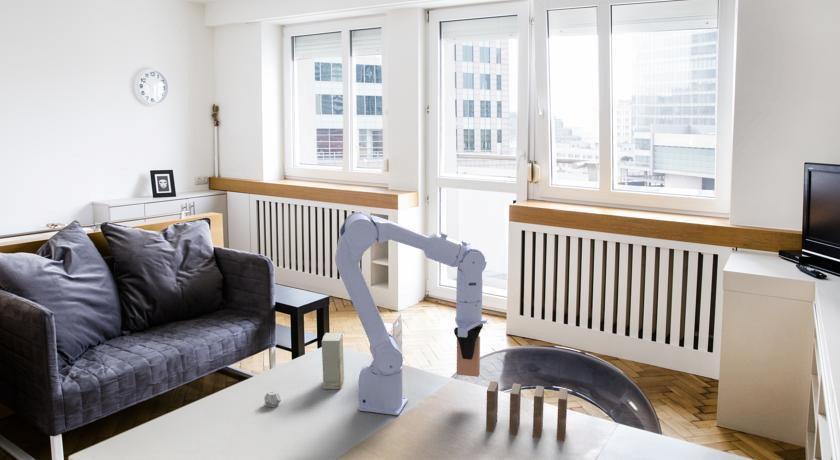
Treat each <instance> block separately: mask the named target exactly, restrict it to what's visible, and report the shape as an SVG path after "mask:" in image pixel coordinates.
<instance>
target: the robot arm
mask: <svg viewBox="0 0 840 460" xmlns="http://www.w3.org/2000/svg"><path fill="white" fill-rule="evenodd" d="M376 241H377V244H382V243H385V242H387V241H394V242H397V243H400V244H403V245H405V246H409V247H412V248H415V249H419V250H422V251H423V253H424V255H425V257H426V258H427V259H430V260H432V261H435V262H438V263H440V264H442V265H446V266H449V267H452V268H456V269H457V272H456V275H457V276H456V295H455V296H456V301H455V303H456V305H455V308H456V309H455V311H456V313H455V324H456V327H455V328H454V330H453V331H454V332H453V333H454V335H455V338H456V340H457V339H458V342H459V345H460V349H461V354H462V358H463V359H469V360H472V357H473V354H474V348H475V343H476V339H477V337H478V336H480V334H481V330H482V329H483V327H484V325H485V324H487V322H488V319H487V318H486V317H482V316H483V271H485V269H486V266H487V261H486V256H485V255H484V254H483V253H482V251H481V250H479V249H478V248H477V247H476V246H474V245H472V244H471V243H468V242H467V241H465V240H461V241H459V240H455V239H453V238H450V237H449V234H447V233H445V232H441V233H440V234H439V233H437V232H435V233H433V234H429V235H426V234H423V233H420V232H419V231H415V230H413V229H412V228H411V229H410V228H408V227H406V226H404V225H402V224H398V223H396V222H393V221H392V220H389V219H387V218H382V217H379V216H376V215H372V214H371V215H370V216H369V215H368V214H366V213H364V212H362V211H357V212H352V213H350V214H349V215H348V216H347V217H346V218H345V219H344V222H342V225H341V227H340V228H339V235H338V241H337V246H336V251H335V256H334V257H335V258H334V263H335V266H336V268H337V271H338V273H339V275H340V278H341V280H342V283H343V286H344V287H345V289H346V291H347V293H348V296H349V299H350V300H351V303H352V304H353V307H354V310H355V312H356V314H357V316H358V318H359V321H360V323H361V326H362V328H363V330H364V332H365V335H366V337H367V339H368V342H369V351H370V353H371V356H372V362H371V364H370V365H364V366H363V367H362V368H361V370H360V372H359V374H358V375H359V376H358V407H357V411H360V412H368V413H376V414H377V413H378V414H386V415H393V416H399V415H400V414H401V412H402V411H403V409H404V407H405V406H406V404H407V402H408V401H409V399H408V397H403V363H404V358H403V357H404V356H403V353H402V354H401V352H400V351H399V348H398V346H397V341H396V339H395V338H394V337H393V336H392V335H390V334H389V333H388V331H387V329H386V327H385V325H384V323H385V322H384V320H383V318H382V315H381V313H380V310H379V309H378V306H377V304H376V301H375V299H374V296H373V294H372V293H371V290H370V287H369V286H368V283H367V281H366V278H365V276H364V274H363V272H362V269H361V267H360V265H359V263H360V262H361V260H362V258H363V256H364V254H365V252H366V251H367V250H368V249H369V248H370V247H372V245H374V243H376Z"/></svg>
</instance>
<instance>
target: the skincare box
mask: <svg viewBox="0 0 840 460" xmlns="http://www.w3.org/2000/svg"><path fill="white" fill-rule="evenodd" d="M343 342H344V340H343V332H325V333H324V335H323V336H322V340H321V358H322V361H321V362H322V377H323V378H322V381H323V383H322V384H323V389H324V390H341V389H342V388H343V384H344V382H345V381H344V380H345V363H344V361H345V359H344V343H343Z"/></svg>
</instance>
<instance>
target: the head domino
mask: <svg viewBox="0 0 840 460" xmlns="http://www.w3.org/2000/svg"><path fill="white" fill-rule="evenodd" d="M480 360H481V336H480V335H479V336H478V337H477V339H476V343H475V348H474V354H473V357H472V360H469V359H463V358H462V354H461V349H460V345H459V342H458V339H457V338H456V375H457V376H467V377H477V378H479V377H480V371H481V370H480V369H481V365H480V363H481V361H480Z"/></svg>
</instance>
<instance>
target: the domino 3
mask: <svg viewBox="0 0 840 460" xmlns="http://www.w3.org/2000/svg"><path fill="white" fill-rule="evenodd" d="M544 397H545V386H543V385H542V386H541V385H536V387H535V391H534V395H533V413H532V414H533V416H532V419H533V420H532V422H533V423H532V438H536V439H537V438H538V439H541V438H542V432H543V426H544V425H543V424H544V423H543V421H544V403H545V401H544Z"/></svg>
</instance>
